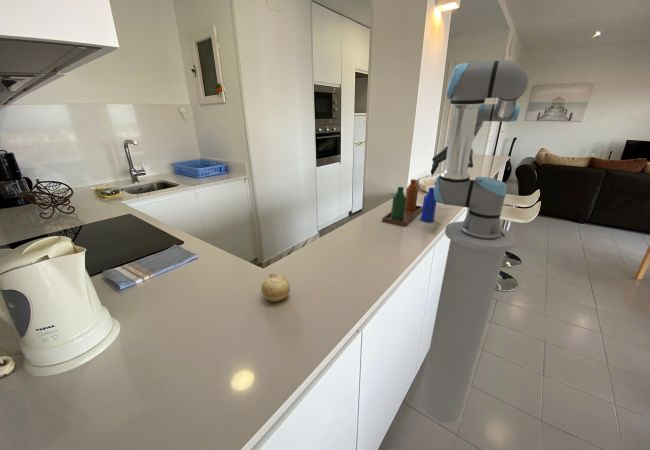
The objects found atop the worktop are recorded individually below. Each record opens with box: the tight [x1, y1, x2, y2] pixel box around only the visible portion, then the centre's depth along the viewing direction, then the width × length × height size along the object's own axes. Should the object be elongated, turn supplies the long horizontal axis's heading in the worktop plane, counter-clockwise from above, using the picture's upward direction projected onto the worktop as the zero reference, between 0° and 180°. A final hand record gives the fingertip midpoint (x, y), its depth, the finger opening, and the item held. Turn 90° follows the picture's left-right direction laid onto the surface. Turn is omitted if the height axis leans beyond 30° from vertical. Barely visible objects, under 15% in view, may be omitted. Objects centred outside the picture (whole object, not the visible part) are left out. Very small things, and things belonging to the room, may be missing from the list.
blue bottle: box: [420, 186, 437, 223], centre depth 135 cm, size 6×6×16 cm
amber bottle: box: [405, 178, 419, 211], centre depth 149 cm, size 6×6×16 cm
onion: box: [260, 272, 291, 303], centre depth 77 cm, size 8×8×7 cm
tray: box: [381, 204, 423, 227], centre depth 144 cm, size 12×30×2 cm, turn 146°
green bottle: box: [391, 186, 406, 221], centre depth 133 cm, size 6×6×16 cm
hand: (444, 175), depth 137 cm, fingers open, 13 cm apart
